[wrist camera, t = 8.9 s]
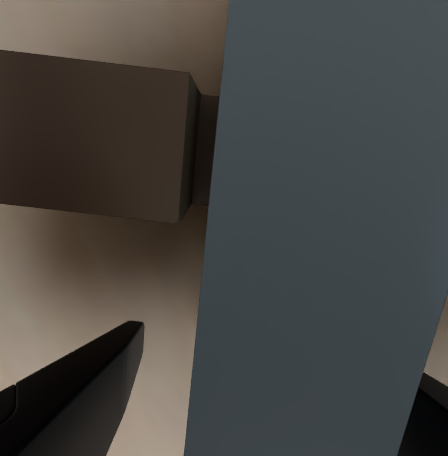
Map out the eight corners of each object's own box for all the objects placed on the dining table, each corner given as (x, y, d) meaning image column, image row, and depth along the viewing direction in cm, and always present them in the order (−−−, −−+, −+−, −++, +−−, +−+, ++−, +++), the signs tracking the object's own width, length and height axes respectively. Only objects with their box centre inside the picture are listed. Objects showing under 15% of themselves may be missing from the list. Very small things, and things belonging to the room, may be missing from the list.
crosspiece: (248, -70, 10) (329, -996, 2) (344, -59, 10) (826, -920, 2) (205, 332, 13) (169, 603, 5) (276, 340, 13) (346, 620, 5)
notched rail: (468, 138, 11) (658, 129, 6) (443, 221, 12) (595, 271, 7) (68, 90, 11) (-62, 42, 6) (69, 177, 12) (-47, 198, 7)
